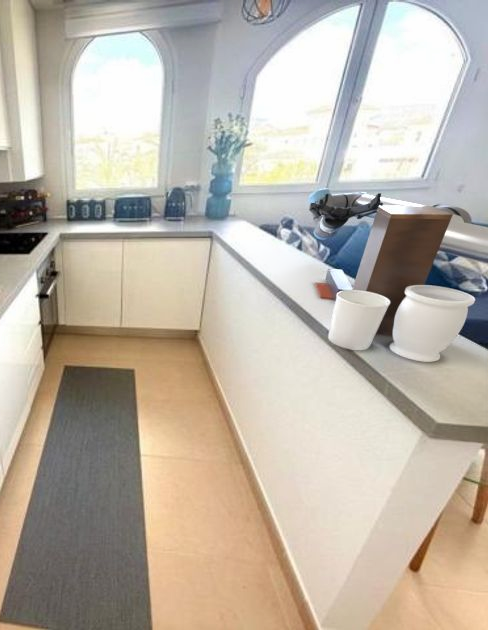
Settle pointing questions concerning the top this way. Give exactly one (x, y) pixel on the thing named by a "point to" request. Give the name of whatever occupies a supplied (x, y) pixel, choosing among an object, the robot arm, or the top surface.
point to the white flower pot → (356, 318)
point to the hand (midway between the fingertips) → (352, 197)
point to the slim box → (337, 281)
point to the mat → (324, 291)
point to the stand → (400, 253)
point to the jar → (428, 321)
